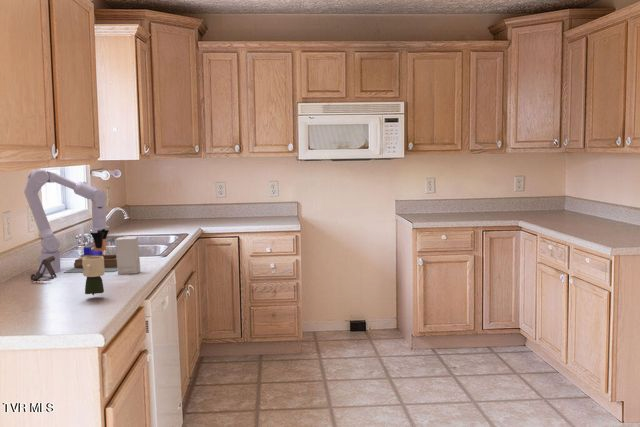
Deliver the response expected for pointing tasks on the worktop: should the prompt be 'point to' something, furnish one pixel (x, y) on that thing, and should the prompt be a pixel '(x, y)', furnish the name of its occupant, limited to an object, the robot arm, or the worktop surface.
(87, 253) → the cable clip
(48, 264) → the portable electronic device stand
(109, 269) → the dock mat
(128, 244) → the skincare box
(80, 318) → the worktop surface
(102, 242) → the part block
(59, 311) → the worktop surface
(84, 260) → the character mug
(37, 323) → the worktop surface
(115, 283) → the worktop surface
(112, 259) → the brown wooden tray
